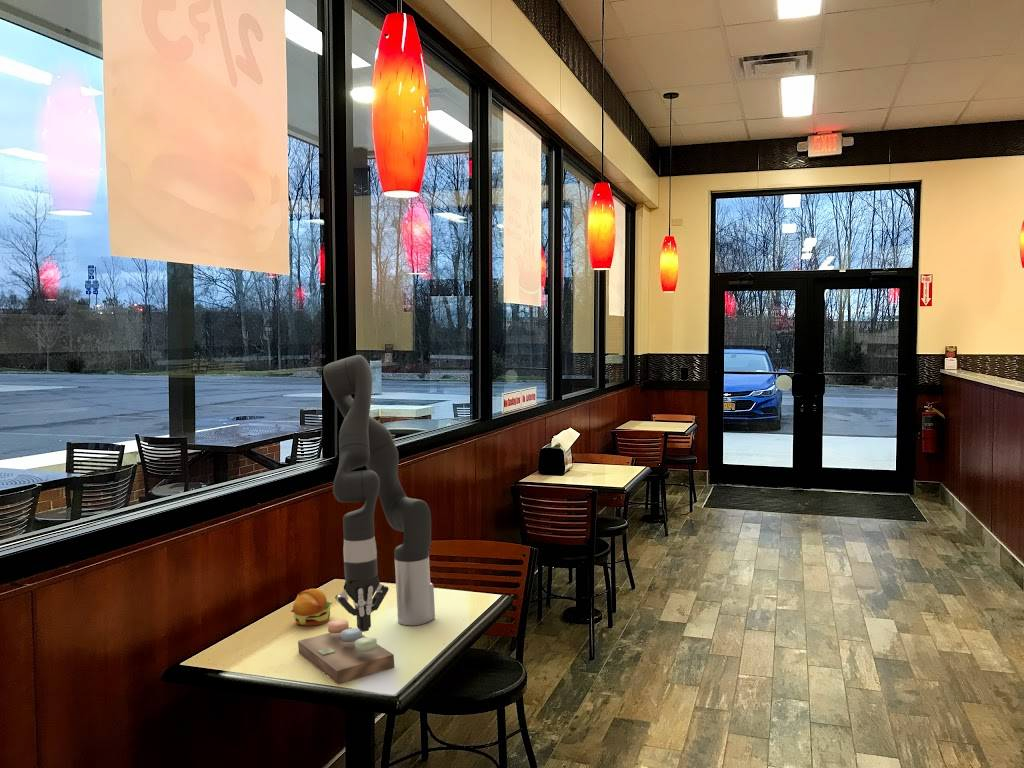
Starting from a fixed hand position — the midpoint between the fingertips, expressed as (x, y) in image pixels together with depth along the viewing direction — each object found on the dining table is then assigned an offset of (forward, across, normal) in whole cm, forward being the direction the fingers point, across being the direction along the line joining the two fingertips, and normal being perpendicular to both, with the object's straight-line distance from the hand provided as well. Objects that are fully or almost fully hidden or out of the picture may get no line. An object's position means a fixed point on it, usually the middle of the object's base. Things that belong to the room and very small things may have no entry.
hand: (364, 630), depth 187 cm
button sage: (+4, 0, 0) cm, 4 cm away
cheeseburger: (+9, -2, -39) cm, 40 cm away
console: (+9, +2, -8) cm, 12 cm away
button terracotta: (+4, 0, -16) cm, 16 cm away
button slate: (+4, 0, -8) cm, 9 cm away
